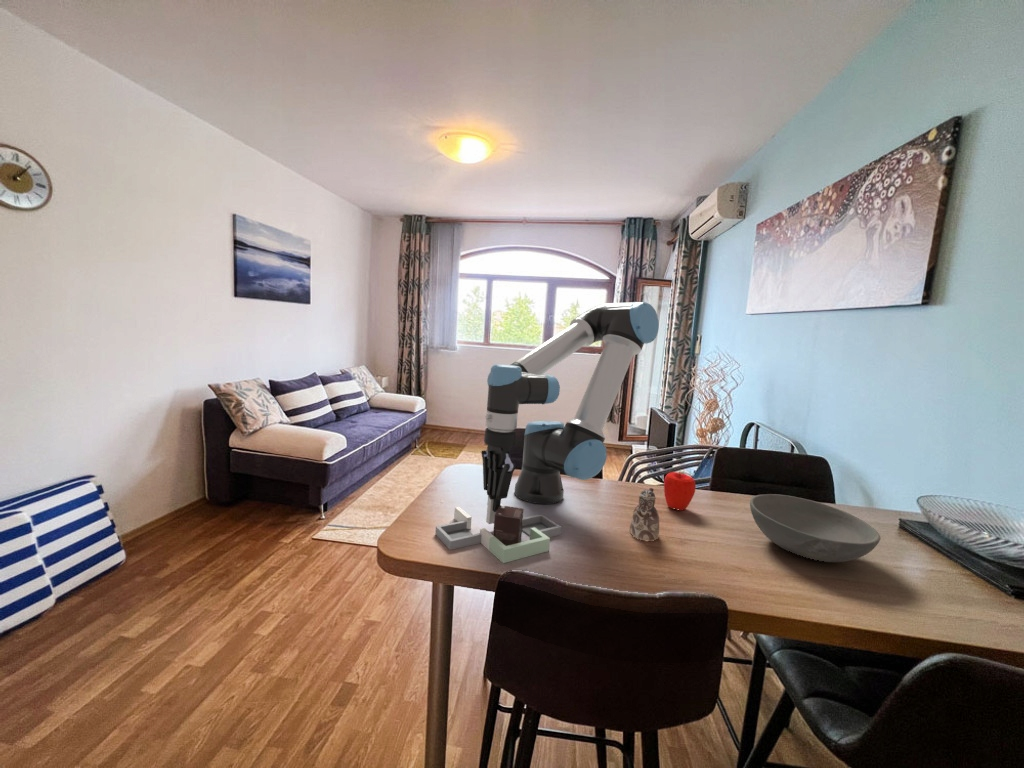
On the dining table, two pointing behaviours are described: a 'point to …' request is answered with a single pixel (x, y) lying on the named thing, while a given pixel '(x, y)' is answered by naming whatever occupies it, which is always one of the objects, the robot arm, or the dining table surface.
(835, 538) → the bowl
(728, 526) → the dining table surface
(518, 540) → the box
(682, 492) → the apple
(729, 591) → the dining table surface
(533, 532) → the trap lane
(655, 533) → the figurine
